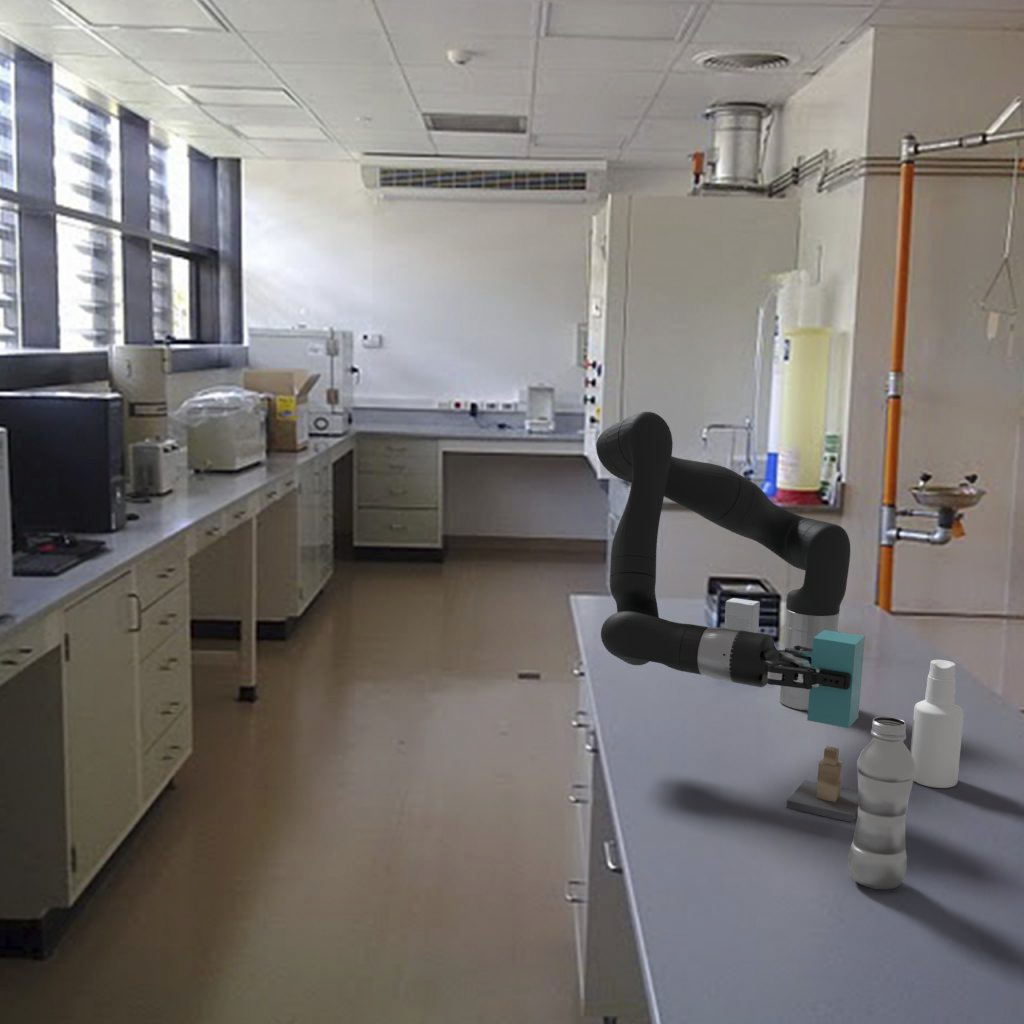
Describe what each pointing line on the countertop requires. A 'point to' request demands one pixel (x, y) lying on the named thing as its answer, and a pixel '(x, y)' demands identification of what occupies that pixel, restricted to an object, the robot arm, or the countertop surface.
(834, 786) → the post
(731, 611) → the skincare box
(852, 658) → the teal pillar
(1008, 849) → the countertop surface
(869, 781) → the plastic bottle
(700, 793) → the countertop surface
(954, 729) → the spray bottle
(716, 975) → the countertop surface
